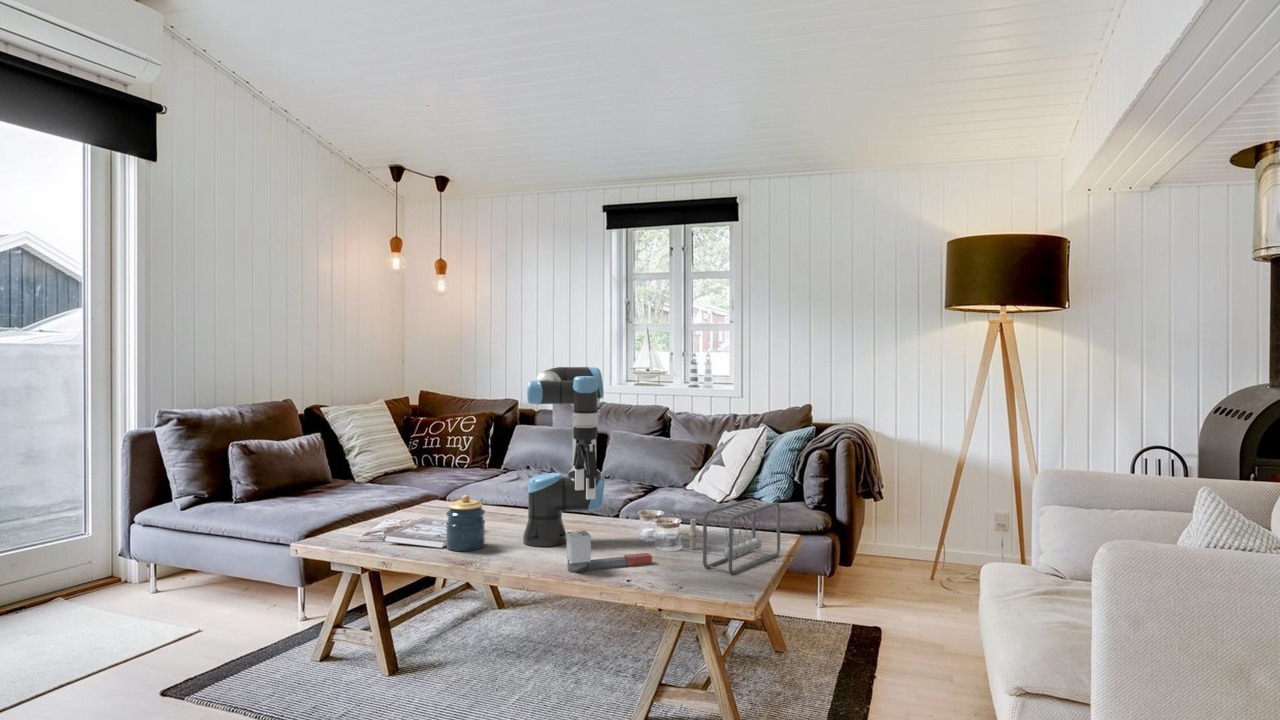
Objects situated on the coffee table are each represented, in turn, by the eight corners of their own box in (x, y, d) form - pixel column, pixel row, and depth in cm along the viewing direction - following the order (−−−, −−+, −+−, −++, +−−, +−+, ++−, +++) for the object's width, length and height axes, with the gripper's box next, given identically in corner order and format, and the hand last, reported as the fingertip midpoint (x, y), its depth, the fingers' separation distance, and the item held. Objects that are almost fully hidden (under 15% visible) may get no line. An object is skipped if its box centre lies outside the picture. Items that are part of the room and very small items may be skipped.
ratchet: (565, 567, 226) (565, 543, 226) (646, 559, 235) (646, 536, 235) (570, 573, 220) (570, 548, 220) (653, 565, 229) (653, 541, 229)
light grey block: (585, 556, 228) (585, 530, 228) (590, 561, 222) (590, 535, 222) (566, 558, 226) (566, 532, 226) (571, 563, 220) (571, 536, 220)
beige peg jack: (682, 543, 255) (682, 515, 255) (710, 546, 252) (710, 517, 252) (674, 551, 245) (675, 521, 245) (704, 554, 242) (704, 523, 242)
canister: (487, 541, 257) (488, 491, 256) (481, 551, 244) (482, 498, 243) (450, 542, 256) (450, 491, 256) (442, 552, 243) (442, 499, 243)
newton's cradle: (753, 549, 248) (753, 497, 248) (780, 555, 242) (781, 501, 241) (702, 569, 225) (702, 511, 225) (731, 576, 219) (731, 516, 218)
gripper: (564, 422, 238) (563, 487, 238) (583, 431, 214) (583, 503, 215) (586, 421, 240) (586, 485, 241) (608, 430, 217) (608, 502, 217)
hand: (585, 494), depth 228 cm, fingers open, 13 cm apart
